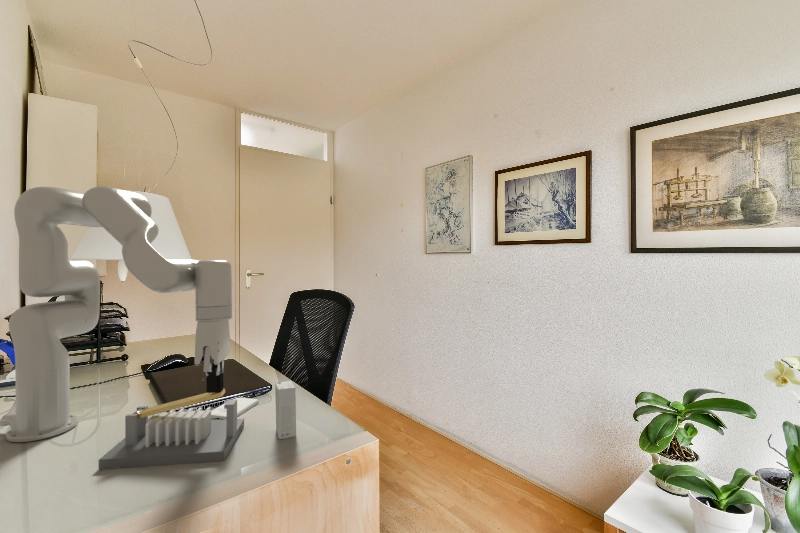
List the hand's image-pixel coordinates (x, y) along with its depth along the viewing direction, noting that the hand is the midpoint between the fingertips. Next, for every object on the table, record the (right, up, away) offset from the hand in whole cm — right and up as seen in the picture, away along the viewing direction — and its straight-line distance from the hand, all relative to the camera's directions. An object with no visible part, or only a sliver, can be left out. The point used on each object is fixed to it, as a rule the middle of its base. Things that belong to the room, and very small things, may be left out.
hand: (215, 391), depth 84 cm
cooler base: (-8, -12, -1) cm, 14 cm away
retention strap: (-8, -3, -1) cm, 8 cm away
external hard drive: (-5, -13, +19) cm, 23 cm away
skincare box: (+15, -13, +6) cm, 20 cm away
